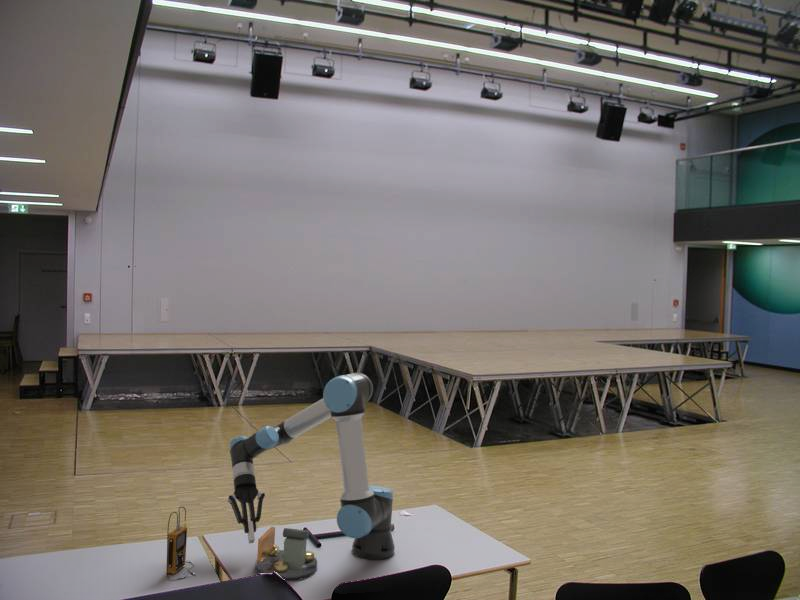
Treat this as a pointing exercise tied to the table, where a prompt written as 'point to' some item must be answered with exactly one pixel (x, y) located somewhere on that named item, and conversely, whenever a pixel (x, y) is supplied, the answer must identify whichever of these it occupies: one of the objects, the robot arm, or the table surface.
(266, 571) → the tribrach plate
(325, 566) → the table surface
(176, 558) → the multimeter
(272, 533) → the lever
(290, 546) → the wedge with rod handle
